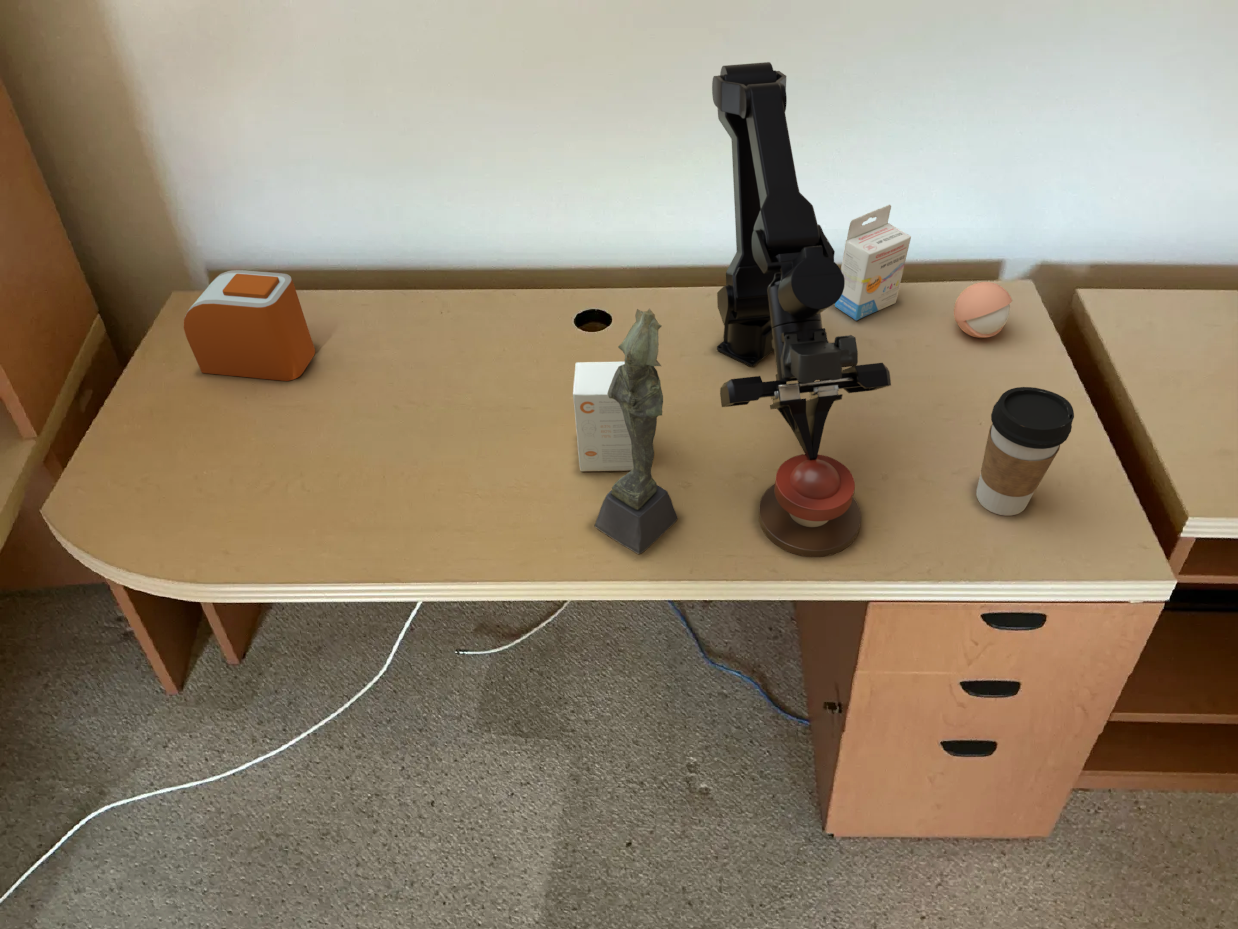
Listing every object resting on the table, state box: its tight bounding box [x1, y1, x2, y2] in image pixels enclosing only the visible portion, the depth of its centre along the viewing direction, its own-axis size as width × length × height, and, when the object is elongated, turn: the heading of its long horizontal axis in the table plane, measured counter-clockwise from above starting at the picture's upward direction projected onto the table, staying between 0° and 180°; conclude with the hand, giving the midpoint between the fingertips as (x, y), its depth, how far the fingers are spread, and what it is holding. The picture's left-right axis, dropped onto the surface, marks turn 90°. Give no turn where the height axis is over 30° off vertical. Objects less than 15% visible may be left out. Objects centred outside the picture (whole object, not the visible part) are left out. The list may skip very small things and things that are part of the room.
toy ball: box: [953, 281, 1013, 339], centre depth 135 cm, size 8×8×8 cm
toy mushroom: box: [758, 453, 862, 558], centre depth 109 cm, size 12×12×9 cm
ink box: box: [834, 204, 912, 321], centre depth 138 cm, size 8×5×15 cm, turn 123°
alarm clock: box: [183, 269, 316, 382], centre depth 133 cm, size 15×8×14 cm, turn 80°
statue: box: [594, 308, 679, 555], centre depth 102 cm, size 7×8×30 cm
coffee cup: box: [975, 386, 1075, 517], centre depth 109 cm, size 8×8×15 cm
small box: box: [572, 360, 633, 472], centre depth 117 cm, size 8×6×13 cm
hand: (812, 459), depth 108 cm, fingers closed, pressing on toy mushroom
